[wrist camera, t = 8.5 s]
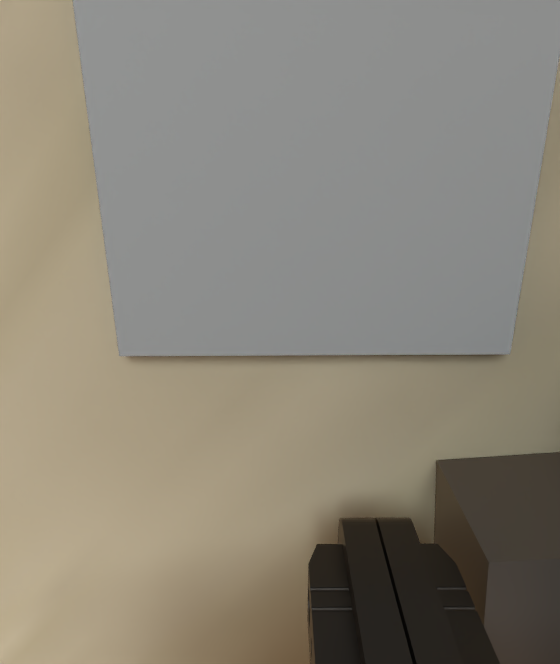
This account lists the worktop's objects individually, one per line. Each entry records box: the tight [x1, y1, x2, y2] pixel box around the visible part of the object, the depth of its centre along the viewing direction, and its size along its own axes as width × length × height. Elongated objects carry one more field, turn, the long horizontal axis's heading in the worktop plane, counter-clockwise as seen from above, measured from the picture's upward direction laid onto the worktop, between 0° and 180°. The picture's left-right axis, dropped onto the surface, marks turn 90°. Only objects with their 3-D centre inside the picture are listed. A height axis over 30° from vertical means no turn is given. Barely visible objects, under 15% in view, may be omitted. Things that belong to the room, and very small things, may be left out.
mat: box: [73, 0, 560, 356], centre depth 9 cm, size 8×8×1 cm
